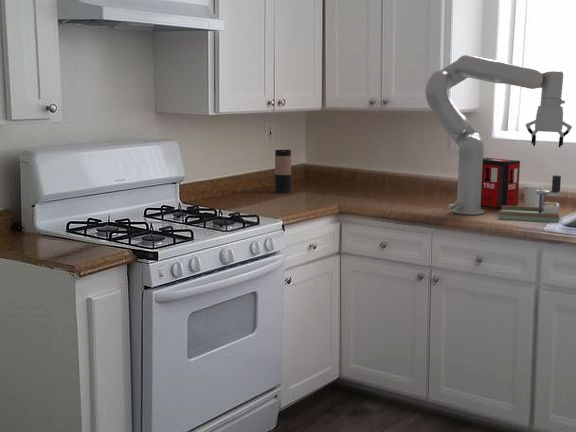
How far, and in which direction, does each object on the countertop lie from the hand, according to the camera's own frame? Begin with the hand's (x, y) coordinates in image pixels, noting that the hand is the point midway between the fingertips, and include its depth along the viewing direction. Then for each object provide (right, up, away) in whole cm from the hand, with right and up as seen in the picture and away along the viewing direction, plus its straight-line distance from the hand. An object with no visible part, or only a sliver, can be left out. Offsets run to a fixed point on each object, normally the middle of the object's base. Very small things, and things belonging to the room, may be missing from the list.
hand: (546, 146), depth 312 cm
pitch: (-7, -28, +1) cm, 29 cm away
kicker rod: (0, -26, -1) cm, 26 cm away
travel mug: (-104, -16, +66) cm, 125 cm away
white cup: (+1, -25, +20) cm, 32 cm away
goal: (+1, -27, -1) cm, 27 cm away
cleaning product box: (-13, -24, +27) cm, 39 cm away
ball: (+1, -25, -2) cm, 25 cm away
